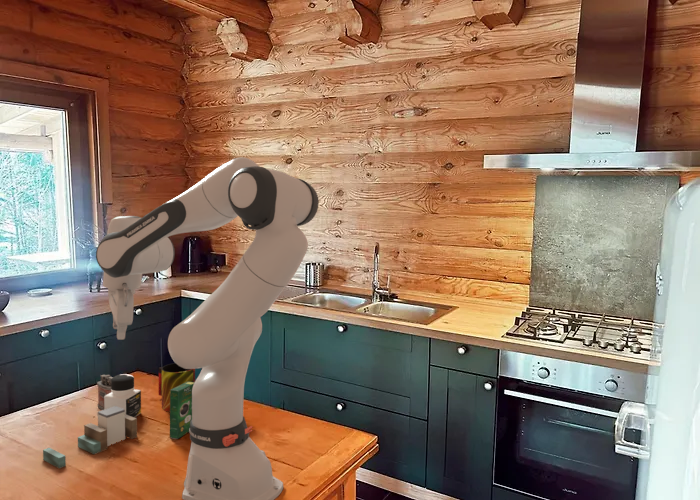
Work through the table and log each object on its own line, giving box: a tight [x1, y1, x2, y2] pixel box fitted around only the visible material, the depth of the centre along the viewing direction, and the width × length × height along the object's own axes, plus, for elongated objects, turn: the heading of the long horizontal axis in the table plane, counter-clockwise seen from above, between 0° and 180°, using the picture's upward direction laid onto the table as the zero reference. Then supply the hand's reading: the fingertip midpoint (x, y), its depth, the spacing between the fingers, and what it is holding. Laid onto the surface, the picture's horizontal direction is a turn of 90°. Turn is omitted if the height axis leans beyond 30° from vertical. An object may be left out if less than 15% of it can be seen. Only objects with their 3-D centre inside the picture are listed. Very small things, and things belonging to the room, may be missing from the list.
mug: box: [158, 362, 196, 413], centre depth 162 cm, size 10×14×12 cm
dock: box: [42, 414, 138, 469], centre depth 133 cm, size 7×20×5 cm, turn 147°
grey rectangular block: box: [97, 406, 126, 447], centre depth 138 cm, size 4×5×8 cm
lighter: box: [96, 374, 114, 411], centre depth 158 cm, size 8×3×10 cm, turn 55°
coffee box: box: [169, 382, 195, 440], centre depth 143 cm, size 8×3×13 cm, turn 161°
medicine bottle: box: [104, 373, 142, 418], centre depth 152 cm, size 7×7×12 cm
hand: (118, 333), depth 135 cm, fingers open, 8 cm apart
